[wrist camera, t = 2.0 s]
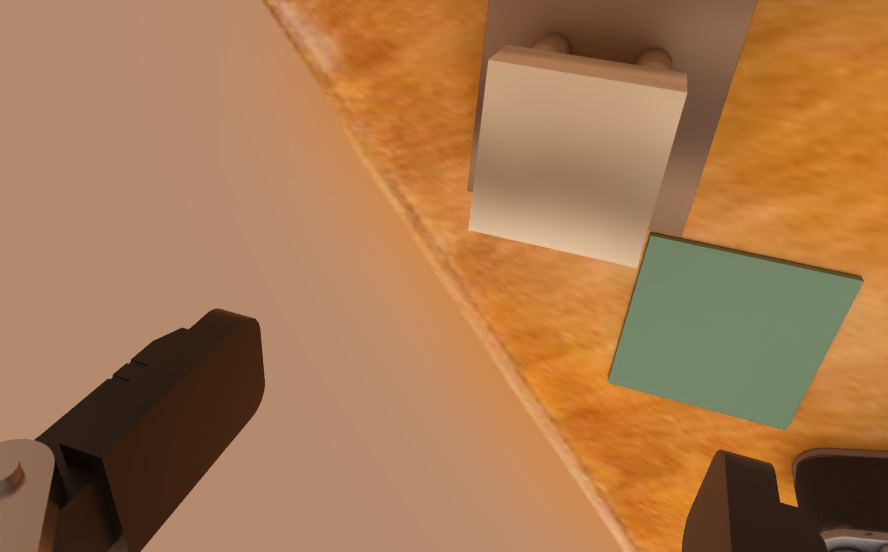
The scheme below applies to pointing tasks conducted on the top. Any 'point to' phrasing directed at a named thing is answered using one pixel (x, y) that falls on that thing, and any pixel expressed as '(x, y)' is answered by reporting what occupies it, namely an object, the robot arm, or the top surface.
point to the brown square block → (623, 40)
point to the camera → (845, 497)
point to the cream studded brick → (574, 148)
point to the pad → (729, 329)
